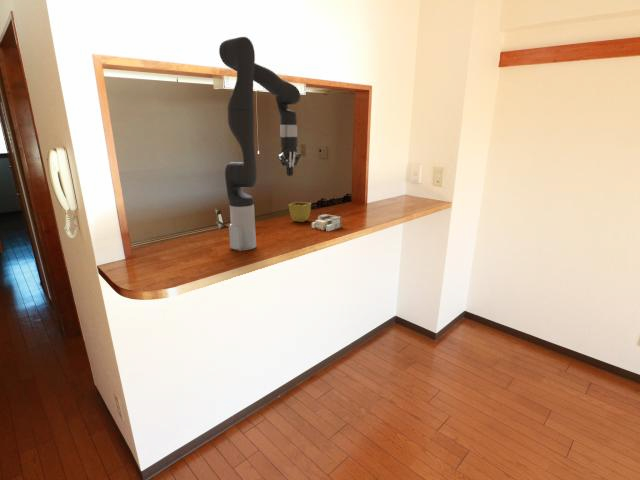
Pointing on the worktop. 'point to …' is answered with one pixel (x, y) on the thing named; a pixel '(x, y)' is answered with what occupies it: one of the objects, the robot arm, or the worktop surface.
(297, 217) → the flower pot
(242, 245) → the robot arm
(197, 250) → the worktop surface
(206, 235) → the worktop surface
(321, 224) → the cream pronged block
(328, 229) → the channel
